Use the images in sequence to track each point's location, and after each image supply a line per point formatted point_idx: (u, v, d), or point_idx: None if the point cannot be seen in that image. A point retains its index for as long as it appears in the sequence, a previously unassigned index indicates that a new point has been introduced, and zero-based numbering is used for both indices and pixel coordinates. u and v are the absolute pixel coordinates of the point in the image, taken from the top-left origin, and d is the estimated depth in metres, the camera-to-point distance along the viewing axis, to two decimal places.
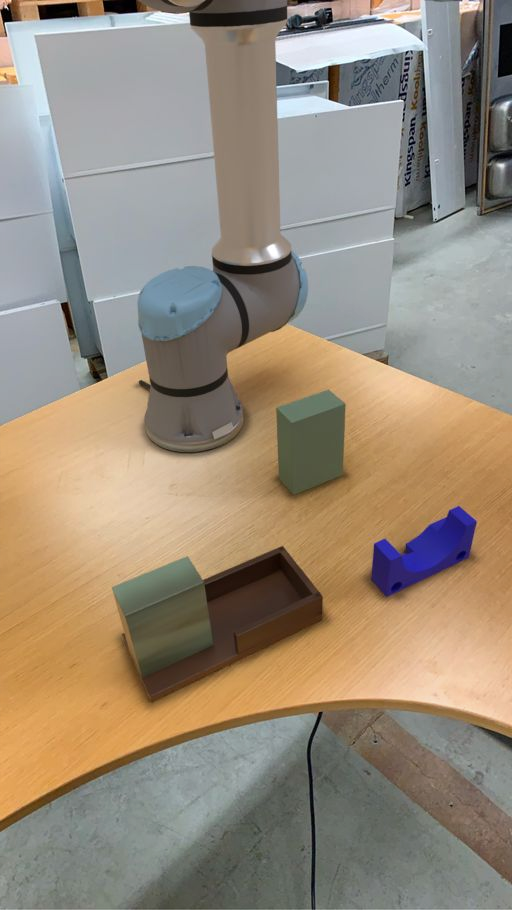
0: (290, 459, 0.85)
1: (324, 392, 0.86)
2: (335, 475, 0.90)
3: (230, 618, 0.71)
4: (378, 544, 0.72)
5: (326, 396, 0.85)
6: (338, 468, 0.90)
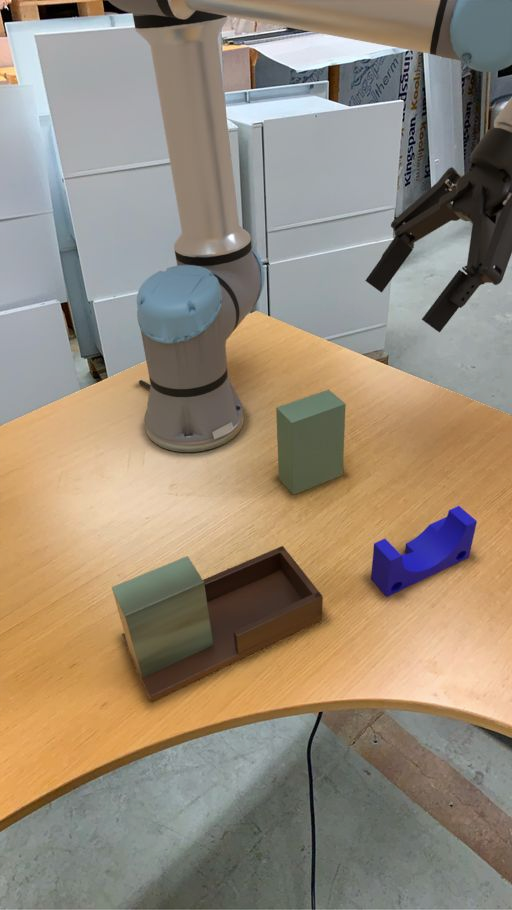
0: (290, 459, 0.85)
1: (324, 392, 0.86)
2: (335, 475, 0.90)
3: (230, 618, 0.71)
4: (378, 545, 0.72)
5: (326, 396, 0.85)
6: (338, 468, 0.90)
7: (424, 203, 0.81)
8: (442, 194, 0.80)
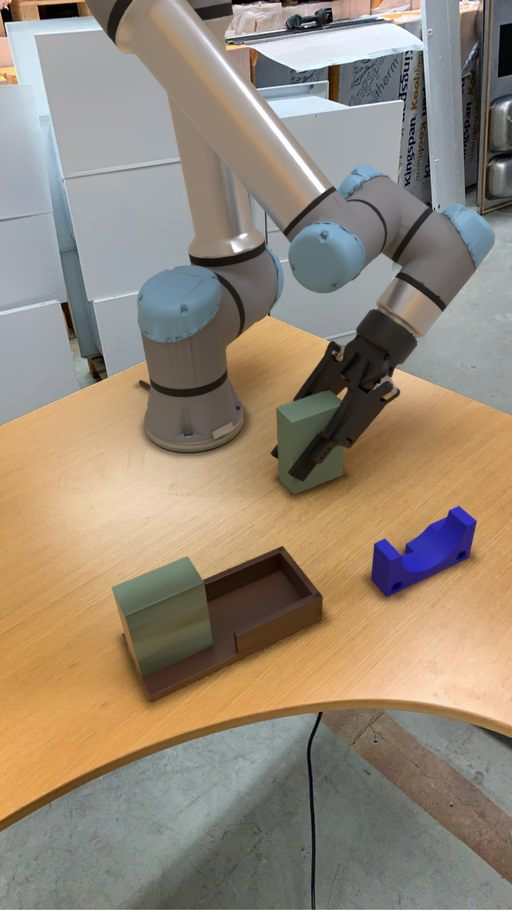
0: (290, 459, 0.85)
1: (324, 392, 0.86)
2: (335, 475, 0.90)
3: (230, 618, 0.71)
4: (378, 545, 0.72)
5: (326, 396, 0.85)
6: (338, 468, 0.90)
7: (319, 375, 0.88)
8: (331, 364, 0.88)
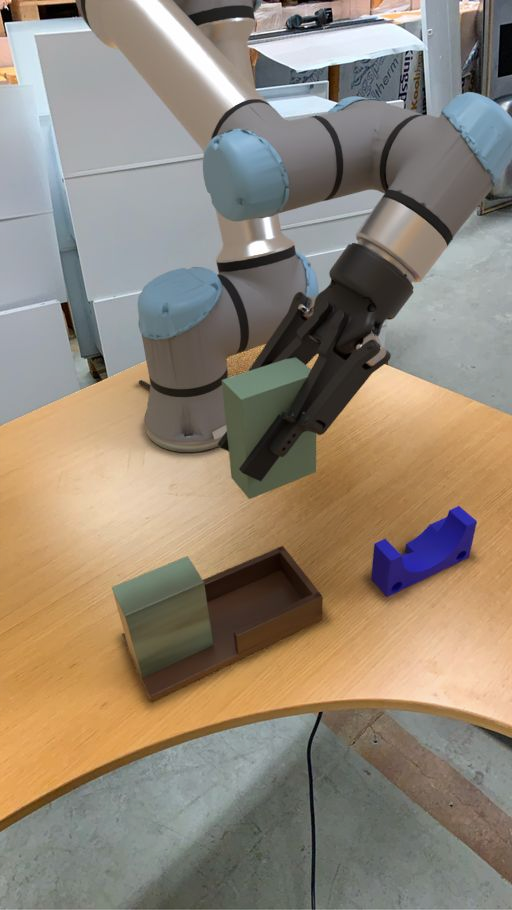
0: (243, 450, 0.62)
1: (288, 360, 0.63)
2: (306, 472, 0.68)
3: (230, 618, 0.71)
4: (378, 545, 0.72)
5: (291, 364, 0.63)
6: (309, 463, 0.67)
7: (281, 339, 0.65)
8: (298, 323, 0.66)
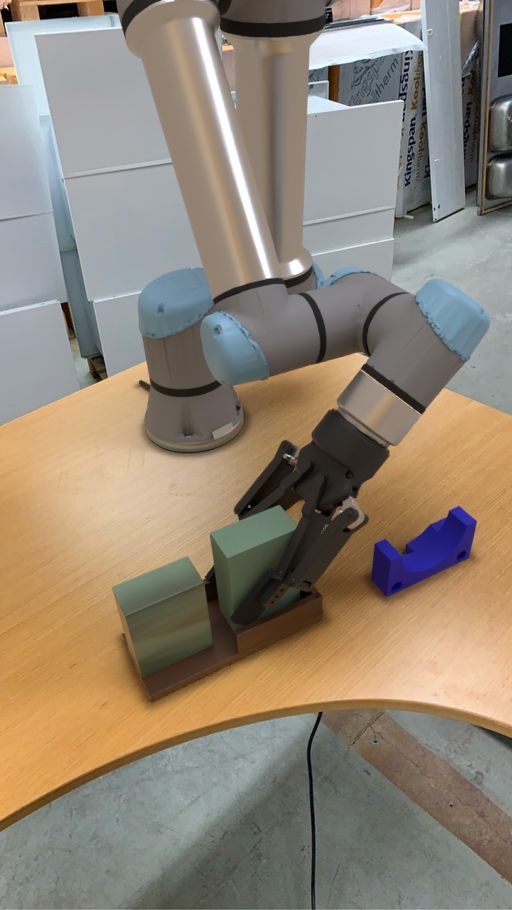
0: (229, 596, 0.66)
1: (273, 509, 0.67)
2: None
3: None
4: (378, 545, 0.72)
5: (275, 515, 0.66)
6: (293, 599, 0.71)
7: (266, 483, 0.70)
8: (283, 469, 0.70)
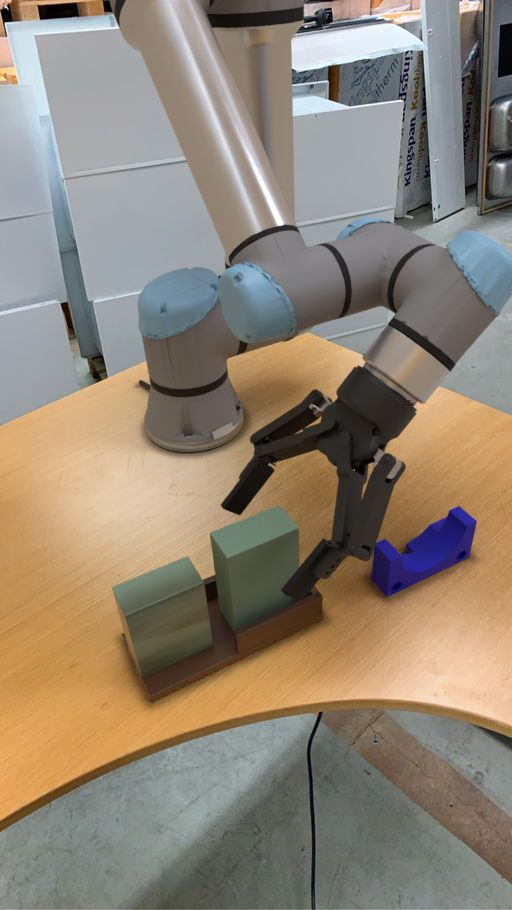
0: (229, 596, 0.66)
1: (273, 509, 0.67)
2: None
3: None
4: (378, 545, 0.72)
5: (275, 515, 0.66)
6: (293, 599, 0.71)
7: (286, 424, 0.69)
8: (306, 416, 0.69)
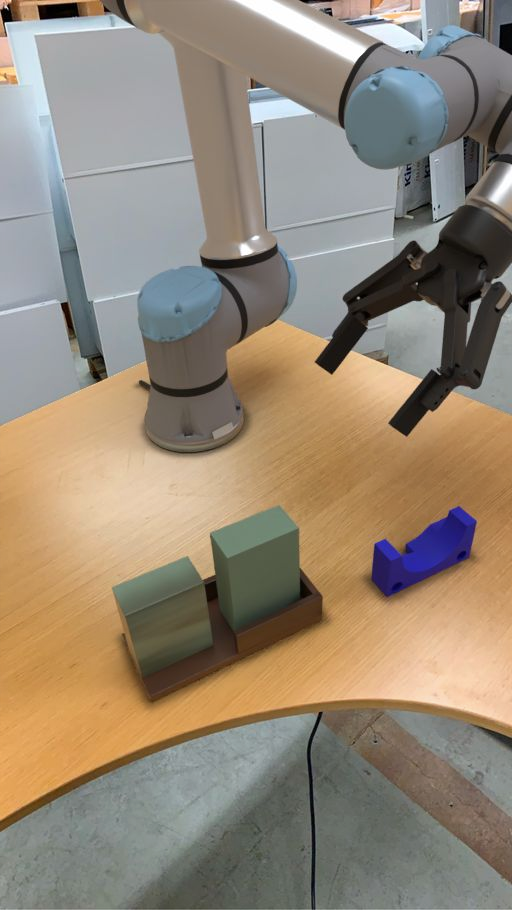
0: (229, 596, 0.66)
1: (273, 509, 0.67)
2: None
3: None
4: (378, 545, 0.72)
5: (275, 515, 0.66)
6: (293, 599, 0.71)
7: (382, 278, 0.71)
8: (403, 269, 0.70)
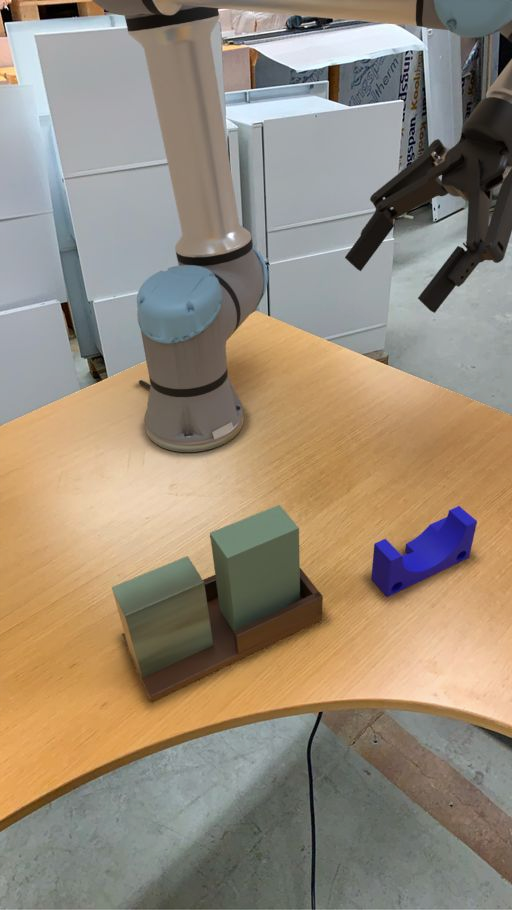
0: (229, 596, 0.66)
1: (273, 509, 0.67)
2: None
3: None
4: (379, 545, 0.72)
5: (275, 515, 0.66)
6: (293, 599, 0.71)
7: (407, 177, 0.76)
8: (427, 167, 0.76)
